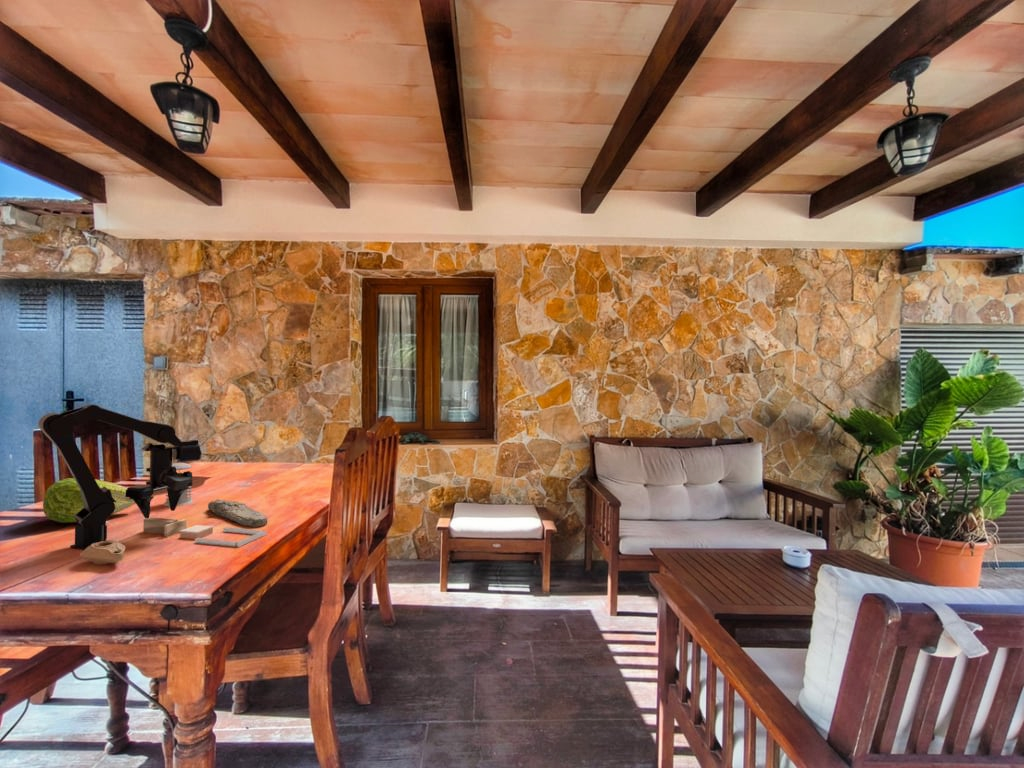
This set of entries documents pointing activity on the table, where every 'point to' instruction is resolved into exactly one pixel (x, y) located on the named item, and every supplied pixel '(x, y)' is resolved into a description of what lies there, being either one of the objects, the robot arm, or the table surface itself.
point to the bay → (255, 535)
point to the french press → (183, 498)
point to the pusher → (164, 526)
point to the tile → (196, 532)
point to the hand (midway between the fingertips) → (160, 514)
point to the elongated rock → (238, 513)
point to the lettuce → (77, 499)
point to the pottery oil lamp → (104, 552)
